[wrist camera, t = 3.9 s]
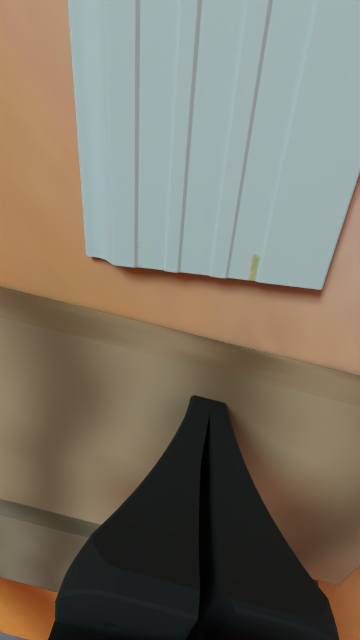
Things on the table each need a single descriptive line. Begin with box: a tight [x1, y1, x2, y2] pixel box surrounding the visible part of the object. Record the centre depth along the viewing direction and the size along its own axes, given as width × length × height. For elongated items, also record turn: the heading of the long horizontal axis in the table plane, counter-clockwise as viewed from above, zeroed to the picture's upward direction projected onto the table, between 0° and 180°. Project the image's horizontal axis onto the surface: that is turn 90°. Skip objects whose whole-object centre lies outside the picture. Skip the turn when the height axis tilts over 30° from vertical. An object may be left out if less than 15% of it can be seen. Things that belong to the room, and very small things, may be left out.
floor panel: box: [0, 499, 318, 593], centre depth 22 cm, size 20×10×2 cm, turn 78°
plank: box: [0, 287, 360, 586], centre depth 15 cm, size 20×12×2 cm, turn 78°
